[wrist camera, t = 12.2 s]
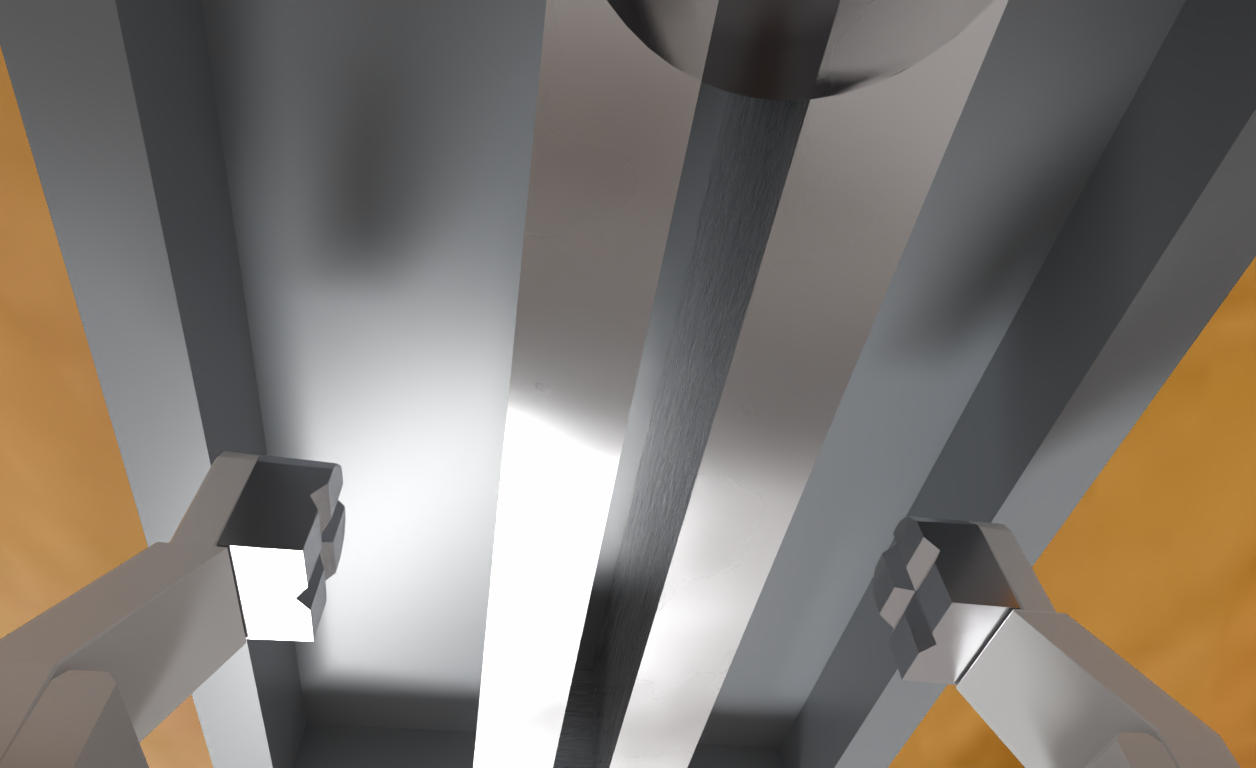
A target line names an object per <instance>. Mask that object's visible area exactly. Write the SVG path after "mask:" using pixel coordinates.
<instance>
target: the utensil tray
mask: <svg viewBox="0 0 1256 768" xmlns="http://www.w3.org/2000/svg"><path fill="white" fill-rule="evenodd" d="M545 11H546V0H0V46H1V49H2V52H3V56H4V59H5V62H6V66H7V69H8V73H9V76H10V79H11V83H12V86H13V90H14V93H15V96H16V100H17V103H18V107H19V110H20V113H21V117H22V120H23V124H24V127H25V130H26V134H27V137H28V140H29V144H30V147H31V151H32V154H33V157H34V161H35V164H36V168H37V171H38V174H39V178H40V181H41V185H42V188H43V191H44V195H45V198H46V202H47V205H48V208H49V212H50V215H51V218H52V222H53V225H54V229H55V232H56V235H57V239H58V242H59V246H60V249H61V252H62V256H63V259H64V263H65V266H66V269H67V273H68V276H69V280H70V283H71V286H72V290H73V293H74V296H75V300H76V303H77V307H78V310H79V313H80V317H81V320H82V324H83V327H84V330H85V334H86V337H87V341H88V344H89V347H90V351H91V354H92V358H93V361H94V364H95V368H96V371H97V374H98V378H99V381H100V385H101V388H102V391H103V395H104V398H105V402H106V405H107V408H108V412H109V415H110V419H111V422H112V425H113V429H114V432H115V436H116V439H117V442H118V446H119V449H120V452H121V456H122V459H123V463H124V466H125V469H126V473H127V476H128V480H129V483H130V486H131V490H132V493H133V497H134V500H135V503H136V507H137V510H138V514H139V517H140V520H141V524H142V527H143V530H144V534H145V537H146V541H147V544H148V547H150V546H151V545H153V544H154V543H156V542H168V543H169V542H170V540H171V538H172V536H173V535H174V533H175V531H176V529H177V527H178V526H179V524H180V522H181V520H182V518H183V517H184V515H185V513H186V511H187V509H188V507H189V506H190V504H191V502H192V500H193V498H194V497H195V495H196V493H197V491H198V489H199V487H200V486H201V484H202V482H203V480H204V478H205V477H206V475H207V473H208V471H209V469H210V468H211V466H212V464H213V462H214V460H215V459H216V458H217V457H218V456H219V455H221V454H222V453H223V452H224V451H229V452H237V453H246V454H254V455H262V456H263V455H269V456H278V457H286V458H295V459H304V460H312V461H321V462H329V463H338V464H339V465H340V466H341V467H342V476H343V486H342V489H341V492H340V495H339V498H338V500H339V501H340V502H341V503H342V504H343V505H344V506H345V518H346V520H345V536H344V541H343V547H342V552H341V557H340V560H339V563H338V567H337V570H336V573H335V574H334V575H332V576H331V577H330V578H328V579H327V580H326V593H327V602H326V605H325V608H324V611H323V614H322V617H321V620H320V623H319V626H318V629H317V632H316V635H315V638H314V641H291V640H265V639H246V644H245V645H243V646H242V647H241V648H240V649H239V650H238V651H237V652H236V653H235V654H234V655H233V656H232V657H231V658H230V659H228V660H227V661H226V662H225V663H224V664H223V665H222V666H221V667H220V668H219V669H218V670H217V671H216V672H215V673H213V674H212V675H211V676H210V677H209V678H208V679H207V680H206V681H205V682H204V683H203V684H202V685H201V686H200V687H198V688H197V689H196V690H195V691H194V692H193V693H192V697H193V700H194V703H195V707H196V710H197V714H198V717H199V720H200V724H201V727H202V731H203V734H204V737H205V741H206V744H207V747H208V751H209V754H210V758H211V761H212V764H213V768H473V762H474V752H475V742H476V731H477V721H478V710H479V700H480V689H481V679H482V668H483V658H484V648H485V637H486V627H487V616H488V606H489V595H490V585H491V575H492V564H493V554H494V543H495V533H496V522H497V512H498V501H499V491H500V481H501V470H502V460H503V449H504V439H505V428H506V418H507V408H508V397H509V387H510V376H511V366H512V355H513V345H514V334H515V324H516V314H517V303H518V293H519V282H520V272H521V261H522V251H523V241H524V230H525V220H526V209H527V199H528V188H529V178H530V167H531V157H532V147H533V136H534V126H535V115H536V105H537V94H538V84H539V74H540V63H541V53H542V42H543V32H544V21H545ZM728 93H729V92H726V91H724V90H721V89H719V88H716V87H713V86H711V85H708V84H706V83H703V82H701V85H700V89H699V94H698V99H697V103H696V108H695V113H694V117H693V122H692V127H691V131H690V136H689V140H688V145H687V150H686V154H685V159H684V164H683V168H682V173H681V177H680V182H679V187H678V191H677V196H676V201H675V205H674V210H673V214H672V219H671V224H670V228H669V233H668V238H667V242H666V247H665V251H664V256H663V261H662V265H661V270H660V275H659V279H658V284H657V288H656V293H655V298H654V302H653V307H652V312H651V316H650V321H649V325H648V330H647V335H646V339H645V344H644V349H643V353H642V358H641V363H640V367H639V372H638V376H637V381H636V386H635V390H634V395H633V400H632V404H631V409H630V413H629V418H628V423H627V427H626V432H625V437H624V441H623V446H622V450H621V455H620V460H619V464H618V469H617V474H616V478H615V483H614V487H613V492H612V497H611V501H610V506H609V511H608V515H607V520H606V524H605V529H604V534H603V538H602V543H601V548H600V552H599V557H598V561H597V566H596V571H595V575H594V580H593V585H592V589H591V594H590V598H589V603H588V608H587V612H586V617H585V622H584V626H583V631H582V636H581V640H580V645H579V649H578V654H577V659H576V661H589V662H593V660H594V656H595V651H596V647H597V643H598V639H599V635H600V630H601V626H602V622H603V618H604V614H605V609H606V605H607V601H608V597H609V593H610V588H611V584H612V580H613V576H614V572H615V567H616V563H617V559H618V555H619V551H620V546H621V542H622V538H623V534H624V530H625V525H626V521H627V517H628V513H629V509H630V505H631V500H632V496H633V492H634V488H635V484H636V479H637V475H638V471H639V467H640V463H641V458H642V454H643V450H644V446H645V442H646V437H647V433H648V429H649V425H650V421H651V416H652V412H653V408H654V404H655V400H656V395H657V391H658V387H659V383H660V379H661V374H662V370H663V366H664V362H665V358H666V354H667V349H668V345H669V341H670V337H671V333H672V328H673V324H674V320H675V316H676V312H677V307H678V303H679V299H680V295H681V291H682V286H683V282H684V278H685V274H686V270H687V265H688V261H689V257H690V253H691V249H692V244H693V240H694V236H695V232H696V228H697V223H698V219H699V215H700V211H701V207H702V203H703V198H704V194H705V190H706V186H707V182H708V177H709V173H710V169H711V165H712V161H713V156H714V152H715V148H716V144H717V140H718V135H719V131H720V127H721V123H722V119H723V114H724V110H725V106H726V102H727V98H728ZM1255 256H1256V0H1008V3H1007V5H1006V7H1005V10H1004V12H1003V15H1002V17H1001V19H1000V22H999V24H998V26H997V29H996V31H995V34H994V36H993V38H992V41H991V43H990V46H989V48H988V50H987V53H986V55H985V58H984V60H983V62H982V65H981V67H980V70H979V72H978V74H977V77H976V79H975V81H974V84H973V86H972V89H971V91H970V93H969V96H968V98H967V101H966V103H965V105H964V108H963V110H962V113H961V115H960V117H959V120H958V122H957V124H956V127H955V129H954V132H953V134H952V136H951V139H950V141H949V144H948V146H947V148H946V151H945V153H944V156H943V158H942V160H941V163H940V165H939V167H938V170H937V172H936V175H935V177H934V179H933V182H932V184H931V187H930V189H929V191H928V194H927V196H926V199H925V201H924V203H923V206H922V208H921V211H920V213H919V215H918V218H917V220H916V222H915V225H914V227H913V230H912V232H911V234H910V237H909V239H908V242H907V244H906V246H905V249H904V251H903V254H902V256H901V258H900V261H899V263H898V265H897V268H896V270H895V273H894V275H893V277H892V280H891V282H890V285H889V287H888V289H887V292H886V294H885V297H884V299H883V301H882V304H881V306H880V309H879V311H878V313H877V316H876V318H875V320H874V323H873V325H872V328H871V330H870V332H869V335H868V337H867V340H866V342H865V344H864V347H863V349H862V352H861V354H860V356H859V359H858V361H857V363H856V366H855V368H854V371H853V373H852V375H851V378H850V380H849V383H848V385H847V387H846V390H845V392H844V395H843V397H842V399H841V402H840V404H839V406H838V409H837V411H836V414H835V416H834V418H833V421H832V423H831V426H830V428H829V430H828V433H827V435H826V438H825V440H824V442H823V445H822V447H821V450H820V452H819V454H818V457H817V459H816V461H815V464H814V466H813V469H812V471H811V473H810V476H809V478H808V481H807V483H806V485H805V488H804V490H803V493H802V495H801V497H800V500H799V502H798V504H797V507H796V509H795V512H794V514H793V516H792V519H791V521H790V524H789V526H788V528H787V531H786V533H785V536H784V538H783V540H782V543H781V545H780V548H779V550H778V552H777V555H776V557H775V559H774V562H773V564H772V567H771V569H770V571H769V574H768V576H767V579H766V581H765V583H764V586H763V588H762V591H761V593H760V595H759V598H758V600H757V602H756V605H755V607H754V610H753V612H752V614H751V617H750V619H749V622H748V624H747V626H746V629H745V631H744V634H743V636H742V638H741V641H740V643H739V645H738V648H737V650H736V653H735V655H734V657H733V660H732V662H731V665H730V667H729V669H728V672H727V674H726V677H725V679H724V681H723V684H722V686H721V689H720V691H719V693H718V696H717V698H716V700H715V703H714V705H713V708H712V710H711V712H710V715H709V717H708V720H707V722H706V724H705V727H704V729H703V732H702V734H701V736H700V739H699V741H698V743H697V746H696V748H695V751H694V753H693V755H692V758H691V760H690V763H689V765H688V767H687V768H888V766H889V765H890V764H891V762H892V761H893V759H894V758H895V757H896V755H897V754H898V752H899V751H900V750H901V748H902V747H903V746H904V744H905V743H906V741H907V740H908V739H909V737H910V736H911V734H912V733H913V732H914V730H915V729H916V727H917V726H918V725H919V723H920V722H921V721H922V719H923V718H924V716H925V715H926V714H927V712H928V711H929V709H930V708H931V707H932V705H933V704H934V702H935V701H936V700H937V698H938V697H939V696H940V694H941V693H942V691H943V690H944V689H945V687H946V686H947V684H940V683H929V682H919V681H908V680H902V679H901V676H900V673H899V670H898V667H897V665H896V662H895V659H894V656H893V653H892V650H891V647H890V644H889V641H888V639H889V637H890V635H891V633H892V630H893V627H892V626H891V625H890V624H889V623H888V622H887V621H886V620H885V619H884V618H883V617H882V616H881V615H879V612H878V609H877V605H876V602H875V598H874V590H873V581H874V572H875V567H876V565H877V563H878V561H879V559H880V557H881V555H882V553H883V552H885V551H886V550H888V549H890V548H891V547H893V546H895V545H896V544H897V543H896V540H895V537H894V535H893V532H894V530H895V529H896V527H897V525H898V523H899V522H900V521H901V520H902V519H904V518H905V517H906V516H913V517H925V518H937V519H949V520H961V521H968V522H970V521H974V522H986V523H998V524H1004V525H1005V526H1006V527H1007V528H1009V529H1010V530H1011V531H1012V533H1013V535H1014V537H1015V539H1016V540H1017V542H1018V544H1019V546H1020V548H1021V549H1022V551H1023V553H1024V555H1025V557H1026V558H1027V560H1028V562H1029V564H1030V566H1031V567H1032V566H1033V565H1034V563H1035V562H1036V561H1037V559H1038V558H1039V557H1040V555H1041V554H1042V552H1043V551H1044V550H1045V548H1046V547H1047V545H1048V544H1049V543H1050V541H1051V540H1052V538H1053V537H1054V536H1055V534H1056V533H1057V532H1058V530H1059V529H1060V527H1061V526H1062V525H1063V523H1064V522H1065V520H1066V519H1067V518H1068V516H1069V515H1070V513H1071V512H1072V511H1073V509H1074V508H1075V507H1076V505H1077V504H1078V502H1079V501H1080V500H1081V498H1082V497H1083V495H1084V494H1085V493H1086V491H1087V490H1088V488H1089V487H1090V486H1091V484H1092V483H1093V481H1094V480H1095V479H1096V477H1097V476H1098V475H1099V473H1100V472H1101V470H1102V469H1103V468H1104V466H1105V465H1106V463H1107V462H1108V461H1109V459H1110V458H1111V456H1112V455H1113V454H1114V452H1115V451H1116V450H1117V448H1118V447H1119V445H1120V444H1121V443H1122V441H1123V440H1124V438H1125V437H1126V436H1127V434H1128V433H1129V431H1130V430H1131V429H1132V427H1133V426H1134V425H1135V423H1136V422H1137V420H1138V419H1139V418H1140V416H1141V415H1142V413H1143V412H1144V411H1145V409H1146V408H1147V406H1148V405H1149V404H1150V402H1151V401H1152V399H1153V398H1154V397H1155V395H1156V394H1157V393H1158V391H1159V390H1160V388H1161V387H1162V386H1163V384H1164V383H1165V381H1166V380H1167V379H1168V377H1169V376H1170V374H1171V373H1172V372H1173V370H1174V369H1175V368H1176V366H1177V365H1178V363H1179V362H1180V361H1181V359H1182V358H1183V356H1184V355H1185V354H1186V352H1187V351H1188V349H1189V348H1190V347H1191V345H1192V344H1193V343H1194V341H1195V340H1196V338H1197V337H1198V336H1199V334H1200V333H1201V331H1202V330H1203V329H1204V327H1205V326H1206V324H1207V323H1208V322H1209V320H1210V319H1211V317H1212V316H1213V315H1214V313H1215V312H1216V311H1217V309H1218V308H1219V306H1220V305H1221V304H1222V302H1223V301H1224V299H1225V298H1226V297H1227V295H1228V294H1229V292H1230V291H1231V290H1232V288H1233V287H1234V286H1235V284H1236V283H1237V281H1238V280H1239V279H1240V277H1241V276H1242V274H1243V273H1244V272H1245V270H1246V269H1247V267H1248V266H1249V265H1250V263H1251V262H1252V261H1253V259H1254V258H1255Z"/></svg>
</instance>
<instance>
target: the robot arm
mask: <svg viewBox="0 0 1256 768" xmlns="http://www.w3.org/2000/svg"><path fill="white" fill-rule="evenodd" d="M342 486H343V476H342V467H341V466H340V465H339V464H338V463H329V462H321V461H312V460H304V459H295V458H286V457H278V456H269V455H263V456H262V455H254V454H246V453H237V452H229V451H224V452H223V453H222V454H221V455H219V456H218V457H217V458H216V459H215V460H214V462H213V464H212V466H211V468H210V469H209V471H208V473H207V475H206V477H205V478H204V480H203V482H202V484H201V486H200V487H199V489H198V491H197V493H196V495H195V497H194V498H193V500H192V502H191V504H190V506H189V507H188V509H187V511H186V513H185V515H184V517H183V518H182V520H181V522H180V524H179V526H178V527H177V529H176V531H175V533H174V535H173V536H172V538H171V540H170V542H169V543H168V542H156V543H154V544H153V545H151V546H150V547H148V548H146V549H145V550H143V551H142V552H140V553H138V554H137V555H135V556H134V557H132V558H130V559H129V560H127V561H125V562H124V563H122V564H121V565H119V566H117V567H116V568H114V569H113V570H111V571H109V572H108V573H106V574H105V575H103V576H101V577H100V578H98V579H96V580H95V581H93V582H92V583H90V584H88V585H87V586H85V587H84V588H82V589H80V590H79V591H77V592H76V593H74V594H72V595H71V596H69V597H68V598H66V599H64V600H63V601H61V602H59V603H58V604H56V605H55V606H53V607H51V608H50V609H48V610H47V611H45V612H43V613H42V614H40V615H39V616H37V617H35V618H34V619H32V620H30V621H29V622H27V623H26V624H24V625H22V626H21V627H19V628H18V629H16V630H14V631H13V632H11V633H10V634H8V635H6V636H5V637H3V638H1V639H0V768H149V767H148V764H147V761H146V759H145V756H144V753H143V751H142V748H141V746H140V742H141V741H142V740H143V739H144V738H145V737H146V736H147V735H148V734H149V733H150V732H151V731H152V730H153V729H155V728H156V727H157V726H158V725H159V724H160V723H161V722H162V721H163V720H164V719H165V718H166V717H167V716H168V715H170V714H171V713H172V712H173V711H174V710H175V709H176V708H177V707H178V706H179V705H180V704H181V703H182V702H183V701H185V700H186V699H187V698H188V697H189V696H190V695H191V694H192V693H193V692H194V691H195V690H196V689H197V688H198V687H200V686H201V685H202V684H203V683H204V682H205V681H206V680H207V679H208V678H209V677H210V676H211V675H212V674H213V673H215V672H216V671H217V670H218V669H219V668H220V667H221V666H222V665H223V664H224V663H225V662H226V661H227V660H228V659H230V658H231V657H232V656H233V655H234V654H235V653H236V652H237V651H238V650H239V649H240V648H241V647H242V646H243V645H245V644H246V639H265V640H291V641H314V638H315V635H316V632H317V629H318V626H319V623H320V620H321V617H322V614H323V611H324V608H325V605H326V602H327V593H326V580H327V579H328V578H330V577H331V576H332V575H334V574H335V573H336V570H337V567H338V563H339V560H340V557H341V552H342V547H343V541H344V536H345V520H346V518H345V506H344V505H343V504H342V503H341V502H340V501H339V500H338V498H339V495H340V492H341V489H342ZM893 535H894V537H895V540H896V543H897V544H896V545H895V546H893V547H891V548H890V549H888V550H886V551H885V552H883V553H882V555H881V557H880V559H879V561H878V563H877V565H876V567H875V572H874V581H873V590H874V598H875V602H876V605H877V609H878V612H879V615H881V616H882V617H883V618H884V619H885V620H886V621H887V622H888V623H889V624H890V625H891V626H892V627H893V630H892V633H891V635H890V637H889V639H888V641H889V644H890V647H891V650H892V653H893V656H894V659H895V662H896V665H897V667H898V670H899V673H900V676H901V679H902V680H908V681H919V682H929V683H940V684H951V685H957V686H956V689H957V690H958V691H959V692H960V693H961V694H962V696H963V697H964V698H965V699H966V700H967V701H968V703H969V704H970V705H971V706H972V707H973V708H974V709H975V711H976V712H977V713H978V714H979V715H980V716H981V717H982V719H983V720H984V721H985V722H986V723H987V724H988V725H989V727H990V728H991V729H992V730H993V731H994V732H995V733H996V735H997V736H998V737H999V738H1000V739H1001V740H1002V741H1003V743H1004V744H1005V745H1006V746H1007V747H1008V748H1009V749H1010V751H1011V752H1012V753H1013V754H1014V755H1015V756H1016V758H1017V759H1018V760H1019V761H1020V762H1021V763H1022V764H1023V766H1024V767H1025V768H1240V766H1239V764H1238V763H1237V761H1236V760H1235V758H1234V757H1233V755H1232V754H1231V752H1230V751H1229V749H1228V747H1227V746H1226V744H1225V743H1224V741H1223V740H1222V738H1221V737H1220V735H1218V734H1217V733H1216V732H1215V731H1213V730H1212V729H1211V728H1210V727H1208V726H1207V725H1206V724H1205V723H1203V722H1202V721H1201V720H1200V719H1198V718H1197V717H1196V716H1195V715H1193V714H1192V713H1191V712H1190V711H1188V710H1187V709H1186V708H1184V707H1183V706H1182V705H1181V704H1179V703H1178V702H1177V701H1176V700H1174V699H1173V698H1172V697H1171V696H1169V695H1168V694H1167V693H1166V692H1164V691H1163V690H1162V689H1161V688H1159V687H1158V686H1157V685H1156V684H1154V683H1153V682H1152V681H1150V680H1149V679H1148V678H1147V677H1145V676H1144V675H1143V674H1142V673H1140V672H1139V671H1138V670H1137V669H1135V668H1134V667H1133V666H1132V665H1130V664H1129V663H1128V662H1127V661H1125V660H1124V659H1123V658H1122V657H1120V656H1119V655H1118V654H1116V653H1115V652H1114V651H1113V650H1111V649H1110V648H1109V647H1108V646H1106V645H1105V644H1104V643H1103V642H1101V641H1100V640H1099V639H1098V638H1096V637H1095V636H1094V635H1093V634H1091V633H1090V632H1089V631H1088V630H1086V629H1085V628H1084V627H1082V626H1081V625H1080V624H1079V623H1077V622H1076V621H1075V620H1074V619H1072V618H1071V617H1070V616H1069V615H1067V614H1065V613H1056V611H1055V609H1054V607H1053V605H1052V603H1051V602H1050V600H1049V598H1048V596H1047V594H1046V593H1045V591H1044V589H1043V587H1042V585H1041V584H1040V582H1039V580H1038V578H1037V576H1036V575H1035V573H1034V571H1033V569H1032V567H1031V566H1030V564H1029V562H1028V560H1027V558H1026V557H1025V555H1024V553H1023V551H1022V549H1021V548H1020V546H1019V544H1018V542H1017V540H1016V539H1015V537H1014V535H1013V533H1012V531H1011V530H1010V529H1009V528H1007V527H1006V526H1005V525H1004V524H998V523H986V522H974V521H970V522H968V521H961V520H949V519H937V518H925V517H913V516H906V517H905V518H904V519H902V520H901V521H900V522H899V523H898V525H897V527H896V529H895V530H894V532H893Z"/></svg>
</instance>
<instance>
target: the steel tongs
mask: <svg viewBox="0 0 1256 768" xmlns="http://www.w3.org/2000/svg"><path fill="white" fill-rule="evenodd" d="M1007 3H1008V0H546V11H545V21H544V32H543V42H542V53H541V63H540V74H539V84H538V94H537V105H536V115H535V126H534V136H533V147H532V157H531V167H530V178H529V188H528V199H527V209H526V220H525V230H524V241H523V251H522V261H521V272H520V282H519V293H518V303H517V314H516V324H515V334H514V345H513V355H512V366H511V376H510V387H509V397H508V408H507V418H506V428H505V439H504V449H503V460H502V470H501V481H500V491H499V501H498V512H497V522H496V533H495V543H494V554H493V564H492V575H491V585H490V595H489V606H488V616H487V627H486V637H485V648H484V658H483V668H482V679H481V689H480V700H479V710H478V721H477V731H476V742H475V752H474V762H473V768H687V767H688V765H689V763H690V760H691V758H692V755H693V753H694V751H695V748H696V746H697V743H698V741H699V739H700V736H701V734H702V732H703V729H704V727H705V724H706V722H707V720H708V717H709V715H710V712H711V710H712V708H713V705H714V703H715V700H716V698H717V696H718V693H719V691H720V689H721V686H722V684H723V681H724V679H725V677H726V674H727V672H728V669H729V667H730V665H731V662H732V660H733V657H734V655H735V653H736V650H737V648H738V645H739V643H740V641H741V638H742V636H743V634H744V631H745V629H746V626H747V624H748V622H749V619H750V617H751V614H752V612H753V610H754V607H755V605H756V602H757V600H758V598H759V595H760V593H761V591H762V588H763V586H764V583H765V581H766V579H767V576H768V574H769V571H770V569H771V567H772V564H773V562H774V559H775V557H776V555H777V552H778V550H779V548H780V545H781V543H782V540H783V538H784V536H785V533H786V531H787V528H788V526H789V524H790V521H791V519H792V516H793V514H794V512H795V509H796V507H797V504H798V502H799V500H800V497H801V495H802V493H803V490H804V488H805V485H806V483H807V481H808V478H809V476H810V473H811V471H812V469H813V466H814V464H815V461H816V459H817V457H818V454H819V452H820V450H821V447H822V445H823V442H824V440H825V438H826V435H827V433H828V430H829V428H830V426H831V423H832V421H833V418H834V416H835V414H836V411H837V409H838V406H839V404H840V402H841V399H842V397H843V395H844V392H845V390H846V387H847V385H848V383H849V380H850V378H851V375H852V373H853V371H854V368H855V366H856V363H857V361H858V359H859V356H860V354H861V352H862V349H863V347H864V344H865V342H866V340H867V337H868V335H869V332H870V330H871V328H872V325H873V323H874V320H875V318H876V316H877V313H878V311H879V309H880V306H881V304H882V301H883V299H884V297H885V294H886V292H887V289H888V287H889V285H890V282H891V280H892V277H893V275H894V273H895V270H896V268H897V265H898V263H899V261H900V258H901V256H902V254H903V251H904V249H905V246H906V244H907V242H908V239H909V237H910V234H911V232H912V230H913V227H914V225H915V222H916V220H917V218H918V215H919V213H920V211H921V208H922V206H923V203H924V201H925V199H926V196H927V194H928V191H929V189H930V187H931V184H932V182H933V179H934V177H935V175H936V172H937V170H938V167H939V165H940V163H941V160H942V158H943V156H944V153H945V151H946V148H947V146H948V144H949V141H950V139H951V136H952V134H953V132H954V129H955V127H956V124H957V122H958V120H959V117H960V115H961V113H962V110H963V108H964V105H965V103H966V101H967V98H968V96H969V93H970V91H971V89H972V86H973V84H974V81H975V79H976V77H977V74H978V72H979V70H980V67H981V65H982V62H983V60H984V58H985V55H986V53H987V50H988V48H989V46H990V43H991V41H992V38H993V36H994V34H995V31H996V29H997V26H998V24H999V22H1000V19H1001V17H1002V15H1003V12H1004V10H1005V7H1006V5H1007ZM701 82H703V83H706V84H708V85H711V86H713V87H716V88H719V89H721V90H724V91H726V92H729V93H728V98H727V102H726V106H725V110H724V114H723V119H722V123H721V127H720V131H719V135H718V140H717V144H716V148H715V152H714V156H713V161H712V165H711V169H710V173H709V177H708V182H707V186H706V190H705V194H704V198H703V203H702V207H701V211H700V215H699V219H698V223H697V228H696V232H695V236H694V240H693V244H692V249H691V253H690V257H689V261H688V265H687V270H686V274H685V278H684V282H683V286H682V291H681V295H680V299H679V303H678V307H677V312H676V316H675V320H674V324H673V328H672V333H671V337H670V341H669V345H668V349H667V354H666V358H665V362H664V366H663V370H662V374H661V379H660V383H659V387H658V391H657V395H656V400H655V404H654V408H653V412H652V416H651V421H650V425H649V429H648V433H647V437H646V442H645V446H644V450H643V454H642V458H641V463H640V467H639V471H638V475H637V479H636V484H635V488H634V492H633V496H632V500H631V505H630V509H629V513H628V517H627V521H626V525H625V530H624V534H623V538H622V542H621V546H620V551H619V555H618V559H617V563H616V567H615V572H614V576H613V580H612V584H611V588H610V593H609V597H608V601H607V605H606V609H605V614H604V618H603V622H602V626H601V630H600V635H599V639H598V643H597V647H596V651H595V656H594V660H593V662H589V661H576V659H577V654H578V649H579V645H580V640H581V636H582V631H583V626H584V622H585V617H586V612H587V608H588V603H589V598H590V594H591V589H592V585H593V580H594V575H595V571H596V566H597V561H598V557H599V552H600V548H601V543H602V538H603V534H604V529H605V524H606V520H607V515H608V511H609V506H610V501H611V497H612V492H613V487H614V483H615V478H616V474H617V469H618V464H619V460H620V455H621V450H622V446H623V441H624V437H625V432H626V427H627V423H628V418H629V413H630V409H631V404H632V400H633V395H634V390H635V386H636V381H637V376H638V372H639V367H640V363H641V358H642V353H643V349H644V344H645V339H646V335H647V330H648V325H649V321H650V316H651V312H652V307H653V302H654V298H655V293H656V288H657V284H658V279H659V275H660V270H661V265H662V261H663V256H664V251H665V247H666V242H667V238H668V233H669V228H670V224H671V219H672V214H673V210H674V205H675V201H676V196H677V191H678V187H679V182H680V177H681V173H682V168H683V164H684V159H685V154H686V150H687V145H688V140H689V136H690V131H691V127H692V122H693V117H694V113H695V108H696V103H697V99H698V94H699V89H700V85H701Z"/></svg>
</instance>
